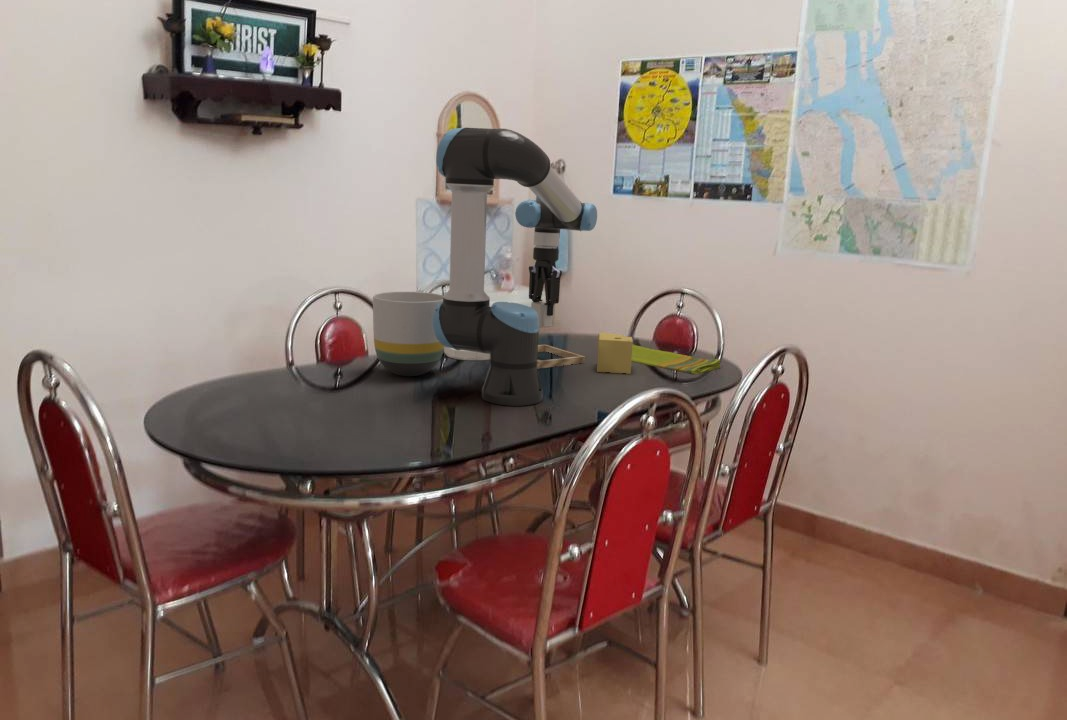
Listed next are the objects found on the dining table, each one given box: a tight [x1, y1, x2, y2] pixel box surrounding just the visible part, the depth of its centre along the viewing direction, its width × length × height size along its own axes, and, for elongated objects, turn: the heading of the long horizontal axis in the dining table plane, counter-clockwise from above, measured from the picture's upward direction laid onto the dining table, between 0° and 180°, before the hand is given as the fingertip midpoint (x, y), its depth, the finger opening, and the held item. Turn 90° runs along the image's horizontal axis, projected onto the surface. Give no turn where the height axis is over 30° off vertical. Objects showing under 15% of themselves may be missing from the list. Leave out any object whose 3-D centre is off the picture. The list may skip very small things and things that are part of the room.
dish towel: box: [632, 344, 721, 375], centre depth 259 cm, size 15×36×3 cm, turn 49°
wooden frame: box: [537, 344, 586, 370], centre depth 254 cm, size 18×20×2 cm
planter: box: [372, 291, 444, 377], centre depth 226 cm, size 20×20×21 cm
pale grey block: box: [530, 301, 556, 329], centre depth 251 cm, size 6×4×7 cm
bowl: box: [443, 346, 490, 362], centre depth 256 cm, size 16×16×3 cm
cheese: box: [596, 332, 634, 375], centre depth 244 cm, size 10×11×10 cm
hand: (542, 324), depth 252 cm, fingers closed on pale grey block, 4 cm apart
